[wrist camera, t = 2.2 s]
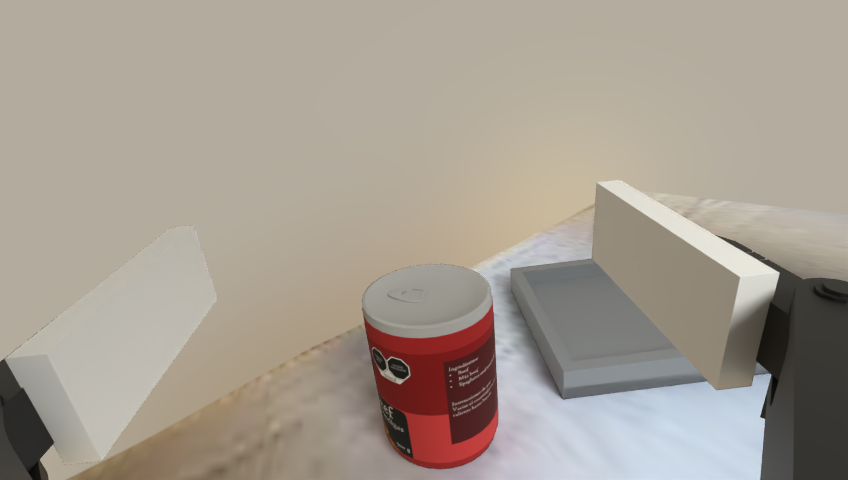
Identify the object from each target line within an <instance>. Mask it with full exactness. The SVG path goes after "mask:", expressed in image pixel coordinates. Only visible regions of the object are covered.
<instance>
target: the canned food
mask: <svg viewBox="0 0 848 480" xmlns="http://www.w3.org/2000/svg"><path fill="white" fill-rule="evenodd" d="M362 305H363V307H362V310H363V316H364V322H365V328H366V334H367V339H368V344H369V349H370V354H371V359H372V364H373V369H374V374H375V379H376V384H377V389H378V395H379V400H380V405H381V410H382V415H383V420H384V425H385V430H386V434H387V436H388V438H389V440H390V442H391V443H392V445H393V446H394V448H395V449H396V450H397V451H398V452H399V454H400V455H401V456H403V457H404V458H405V459H407V460H408V461H410V462H412V463H414V464H416V465H419V466H423V467H426V468H434V469H446V468H454V467H458V466H462V465H464V464H467V463H469V462H471V461H473V460H474V459H476V458H477V457H479V456H480V455H481V454H482V453H483V452H484V451H485V450H486V449H487V448H488V447H489V445H490V444H491V442H492V440H493V437H494V435H495V432H496V429H497V426H498V398H497V376H496V355H495V333H494V313H493V300H492V295H491V289H490V285H489V283H488V282H487V280H486V279H485V278H484V277H483V276H481V275H480V274H479V273H477V272H474V271H472V270H470V269H467V268H464V267H460V266H454V265H446V264H426V265H417V266H411V267H407V268H403V269H400V270H396V271H394V272H391V273H388V274H387V275H385V276H382V277H381V278H379V279H377V280H376V281H375V282H373V283H372V284H371V285H370V286H369V287H368V288H367V289H366V291H365V293H364V295H363V298H362Z"/></svg>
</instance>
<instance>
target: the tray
mask: <svg viewBox="0 0 848 480" xmlns="http://www.w3.org/2000/svg"><path fill="white" fill-rule="evenodd" d="M510 272H511V291H512V293H513V295H514V297H515V299H516V301H517V303H518V305H519V307H520V309H521V312H522V314H523V316H524V318H525V320H526V322H527V324H528V326H529V328H530V331H531V333H532V335H533V337H534V339H535V341H536V343H537V345H538V347H539V349H540V352H541V354H542V356H543V358H544V360H545V362H546V364H547V366H548V368H549V370H550V373H551V375H552V377H553V379H554V381H555V383H556V385H557V387H558V389H559V392H560V394H561V396H562V398H563V399H569V398H577V397H585V396H593V395H601V394H609V393H617V392H624V391H632V390H640V389H648V388H656V387H664V386H672V385H680V384H688V383H696V382H704V381H707V380H706V379H705V378H704V377H703V376H702V374H701V373H700V372H699V371H698V370H697V369H696V368H695V367H694V366H693V365H692V364H691V363H690V362H689V361H688V360H687V359H686V357H685V356H684V355H683V354H682V353H681V352H680V351H679V350H678V349H677V348H676V347H675V346H674V345H673V344H672V343H671V342H670V341H669V339H668V338H667V337H666V336H665V335H664V334H663V333H662V332H661V331H660V330H659V329H658V328H657V327H656V326H655V325H654V324H653V322H652V321H651V320H650V319H649V318H648V317H647V316H646V315H645V314H644V313H643V312H642V311H641V310H640V309H639V308H638V307H637V306H636V304H635V303H634V302H633V301H632V300H631V299H630V298H629V297H628V296H627V295H626V294H625V293H624V292H623V291H622V290H621V289H620V288H619V286H618V285H617V284H616V283H615V282H614V281H613V280H612V279H611V278H610V277H609V276H608V275H607V274H606V273H605V272H604V271H603V269H602V268H601V267H600V266H599V265H598V264H597V263H596V262H595V261H594V260H593V259H586V260H578V261H569V262H561V263H553V264H545V265H537V266H529V267H521V268H512V269H510ZM767 373H769V372H768V371H767V370H766V369H765V368H764V367H762V366H761V365H760V364H759V363H758V362H757V365H756V369H755V373H754V375H759V374H767Z"/></svg>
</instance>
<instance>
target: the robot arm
mask: <svg viewBox="0 0 848 480" xmlns="http://www.w3.org/2000/svg"><path fill="white" fill-rule="evenodd" d="M592 259H593V260H594V261H595V262H596V263H597V264H598V265H599V266H600V267H601V268H602V269H603V271H604V272H605V273H606V274H607V275H608V276H609V277H610V278H611V279H612V280H613V281H614V282H615V283H616V284H617V285H618V286H619V288H620V289H621V290H622V291H623V292H624V293H625V294H626V295H627V296H628V297H629V298H630V299H631V300H632V301H633V302H634V303H635V304H636V306H637V307H638V308H639V309H640V310H641V311H642V312H643V313H644V314H645V315H646V316H647V317H648V318H649V319H650V320H651V321H652V322H653V324H654V325H655V326H656V327H657V328H658V329H659V330H660V331H661V332H662V333H663V334H664V335H665V336H666V337H667V338H668V339H669V341H670V342H671V343H672V344H673V345H674V346H675V347H676V348H677V349H678V350H679V351H680V352H681V353H682V354H683V355H684V356H685V357H686V359H687V360H688V361H689V362H690V363H691V364H692V365H693V366H694V367H695V368H696V369H697V370H698V371H699V372H700V373H701V374H702V376H703V377H704V378H705V379H706V380H707V381H708V382H709V383H710V384H711V385H712V386H713V387H714V388H715V389H716V390H722V389H731V388H740V387H748V386H751V385H752V381H753V377H754V373H755V369H756V365H757V362H758V363H759V364H760V365H761V366H762V367H764V368H765V369H766V370H767V371H768V372H769V373H770V374H772V376H771V379H770V383H769V387H768V390H767V394H766V398H765V402H764V405H763V409H762V413H761V416H760V417H761V418H764V419H765V429H764V441H763V454H762V466H761V478H760V480H848V282H846V281H842V280H837V279H827V278H809V279H805V280H803V279H802V278H800V277H798V276H796V275H794V274H793V273H791V272H789V271H787V270H786V269H784V268H782V267H780V266H778V265H777V264H775V263H773V262H771V261H770V260H765V258H764V257H762V256H761V255H759V254H757V253H755V252H753V253H752V250H750V249H748V248H746V247H745V246H743V245H741V244H739V243H738V242H736V241H732V240H729V239H726V238H723V237H720V236H717V235H714V234H712V233H710V232H708V231H707V230H705V229H703V228H702V227H700V226H698V225H696V224H695V223H693V222H691V221H689V220H688V219H686V218H684V217H683V216H681V215H679V214H677V213H676V212H674V211H672V210H671V209H669V208H667V207H665V206H664V205H662V204H660V203H658V202H657V201H655V200H653V199H652V198H650V197H648V196H646V195H645V194H643V193H641V192H639V191H638V190H636V189H634V188H632V187H631V186H629V185H627V184H626V183H624V182H622V181H620V180H615V181H606V182H597V184H596V200H595V216H594V232H593V248H592ZM216 301H217V296H216V293H215V289H214V286H213V283H212V280H211V277H210V274H209V270H208V267H207V264H206V261H205V258H204V255H203V252H202V249H201V245H200V242H199V239H198V236H197V233H196V230H195V227H194V225H192V226H183V227H173V228H170V229H168V230H167V231H166V232H164V233H163V234H162V235H161V236H159V237H158V238H157V239H156V240H154V241H153V242H152V243H151V244H149V245H148V246H147V247H145V248H144V249H143V250H142V251H140V252H139V253H138V254H137V255H135V256H134V257H133V258H131V259H130V260H129V261H128V262H127V263H125V264H124V265H123V266H121V267H120V268H119V269H118V270H116V271H115V272H114V273H112V274H111V275H110V276H109V277H107V278H106V279H105V280H104V281H102V282H101V283H100V284H98V285H97V286H96V287H95V288H94V289H92V290H91V291H90V292H88V293H87V294H86V295H85V296H83V297H82V298H81V299H80V300H78V301H77V302H76V303H75V304H73V305H72V306H71V307H69V308H68V309H67V310H66V311H65V312H63V313H62V314H60V315H59V316H58V317H56V318H55V319H54V320H53V321H51V322H50V323H49V324H47V325H46V326H45V327H44V328H42V329H41V330H40V331H39V332H38V333H36V334H35V335H33V336H32V337H31V338H30V339H28V340H27V341H26V342H25V343H24V344H22V345H21V346H20V347H18V348H17V349H16V350H15V351H13V352H12V353H11V354H9V355H8V356H7V357H6V358H4V359H3V360H2V361H1V362H0V480H48V474H47V472H46V470H45V468H44V467H43V465H42V463H41V462H40V458H41V457H42V456H43V455H44V454H45V453H46V452H47V450H48V449H49V448H50V447H51V446H52V445H54V446H55V448H56V450H57V452H58V454H59V455H60V457H61V459H62V460H63V462H64V464H65V465H72V464H80V463H88V462H96V461H97V462H98V461H102V460H103V459H104V457H105V456H106V455H107V453H108V452H109V450H110V449H111V448H112V446H113V445H114V443H115V442H116V440H117V439H118V438H119V436H120V435H121V434H122V432H123V431H124V429H125V428H126V427H127V425H128V424H129V422H130V421H131V420H132V418H133V417H134V415H135V414H136V413H137V411H138V410H139V408H140V407H141V406H142V404H143V403H144V401H145V400H146V399H147V397H148V396H149V394H150V393H151V392H152V390H153V389H154V387H155V386H156V384H157V383H158V382H159V380H160V379H161V377H162V376H163V375H164V373H165V372H166V371H167V369H168V368H169V366H170V365H171V364H172V362H173V361H174V359H175V358H176V357H177V355H178V354H179V352H180V351H181V350H182V348H183V347H184V345H185V344H186V342H187V341H188V339H189V338H190V337H191V336H192V334H193V333H194V331H195V330H196V329H197V327H198V326H199V324H200V323H201V321H202V320H203V319H204V317H205V316H206V315H207V313H208V312H209V310H210V309H211V307H212V306H213V305H214V303H215V302H216Z"/></svg>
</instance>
